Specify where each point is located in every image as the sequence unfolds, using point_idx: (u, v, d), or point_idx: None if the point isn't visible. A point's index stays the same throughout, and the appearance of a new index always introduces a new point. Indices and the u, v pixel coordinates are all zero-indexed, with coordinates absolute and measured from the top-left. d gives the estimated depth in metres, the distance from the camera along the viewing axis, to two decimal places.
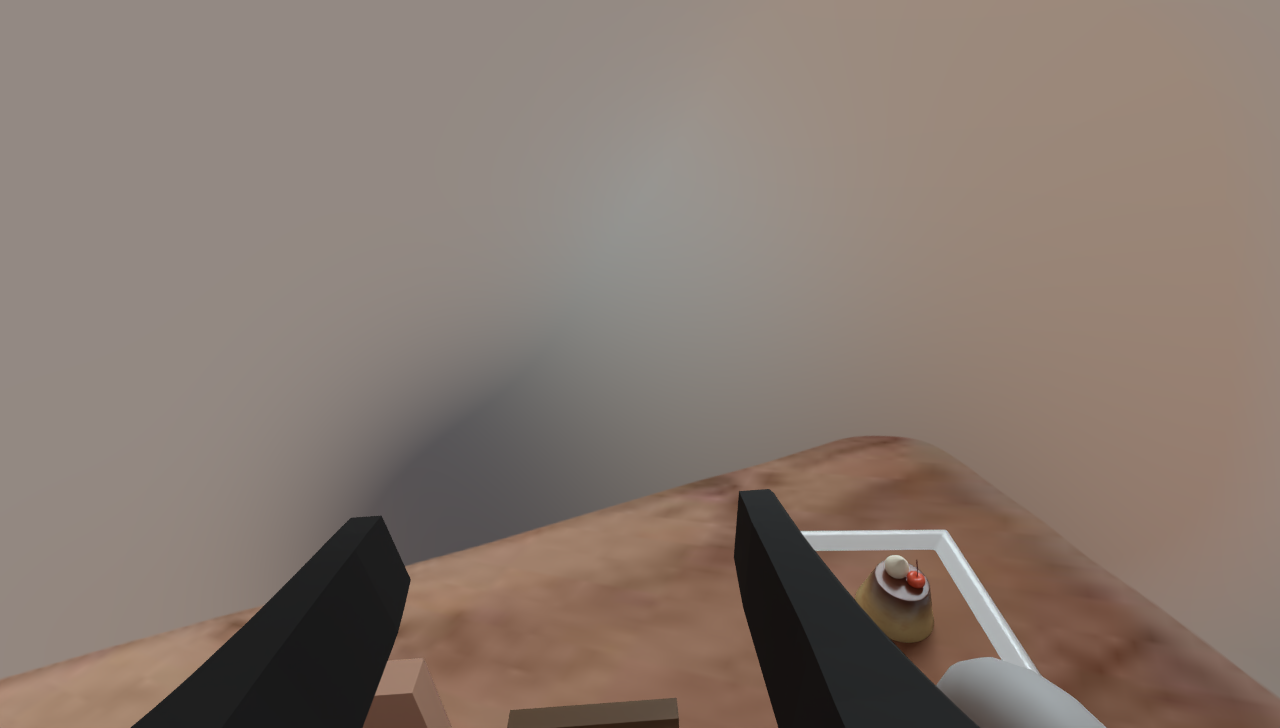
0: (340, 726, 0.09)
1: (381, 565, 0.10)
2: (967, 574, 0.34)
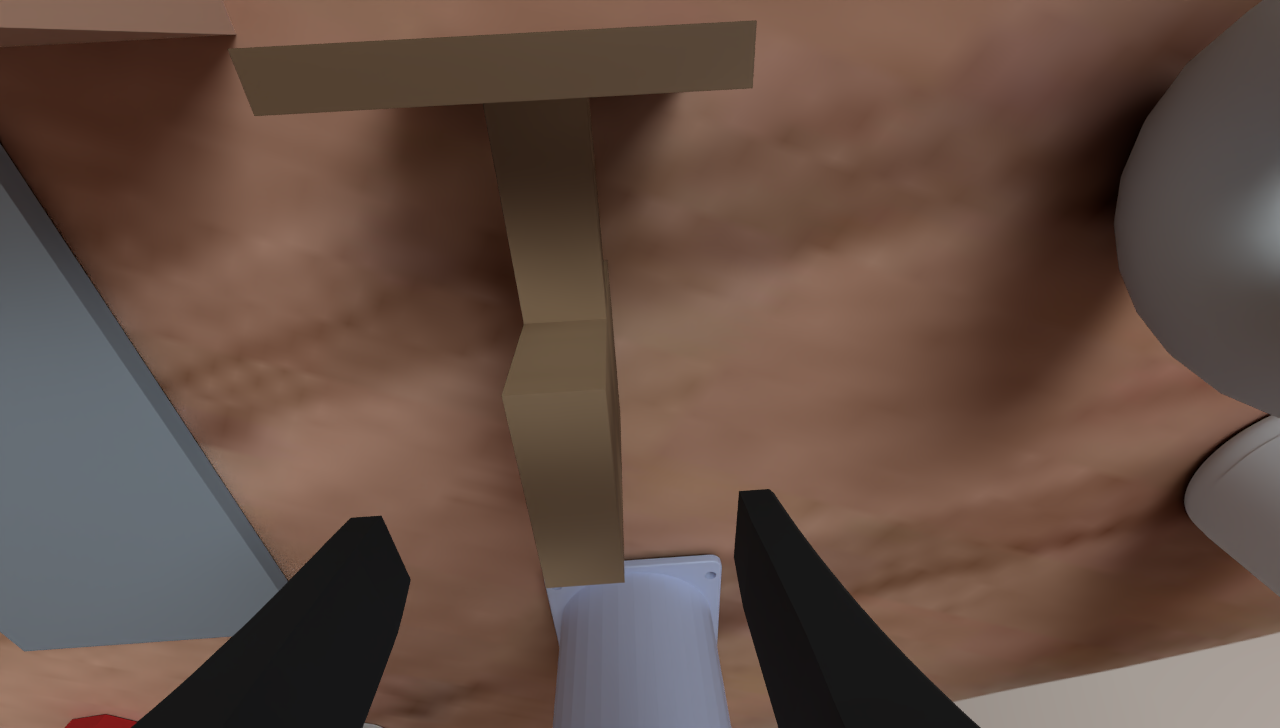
0: (340, 726, 0.09)
1: (381, 565, 0.10)
2: None
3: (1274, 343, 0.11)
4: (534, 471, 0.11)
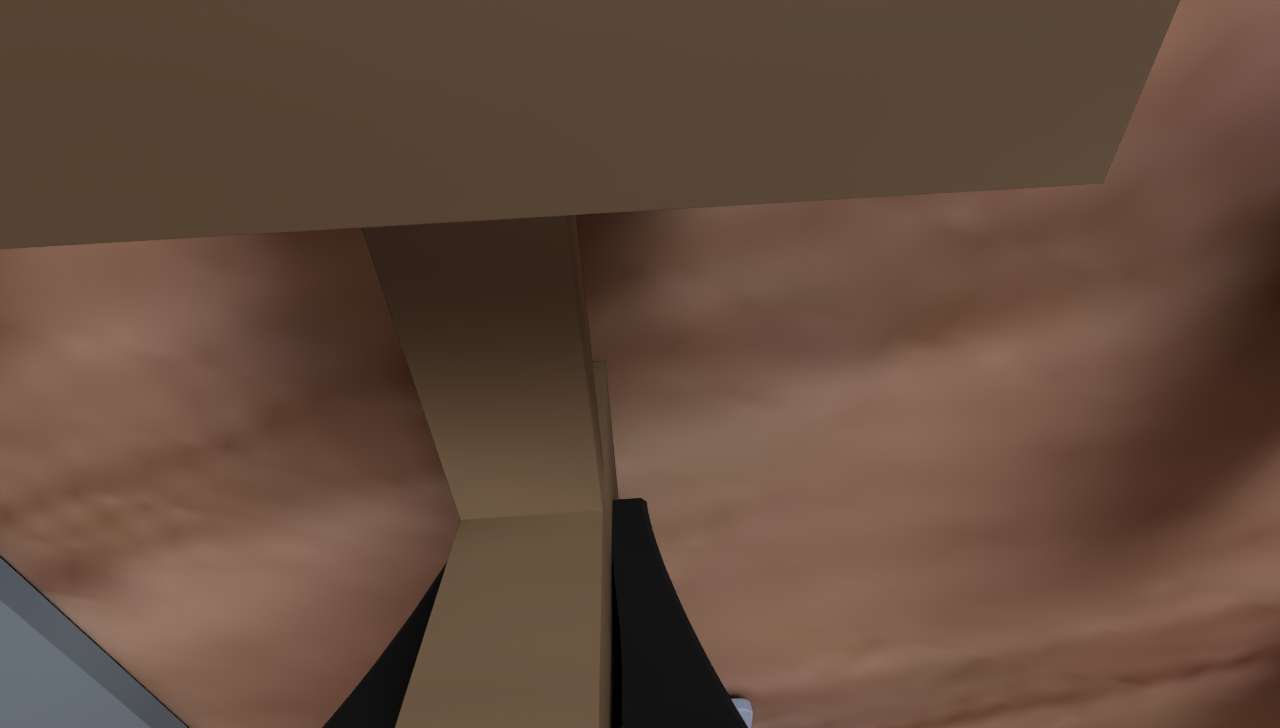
0: None
1: None
2: None
3: None
4: None
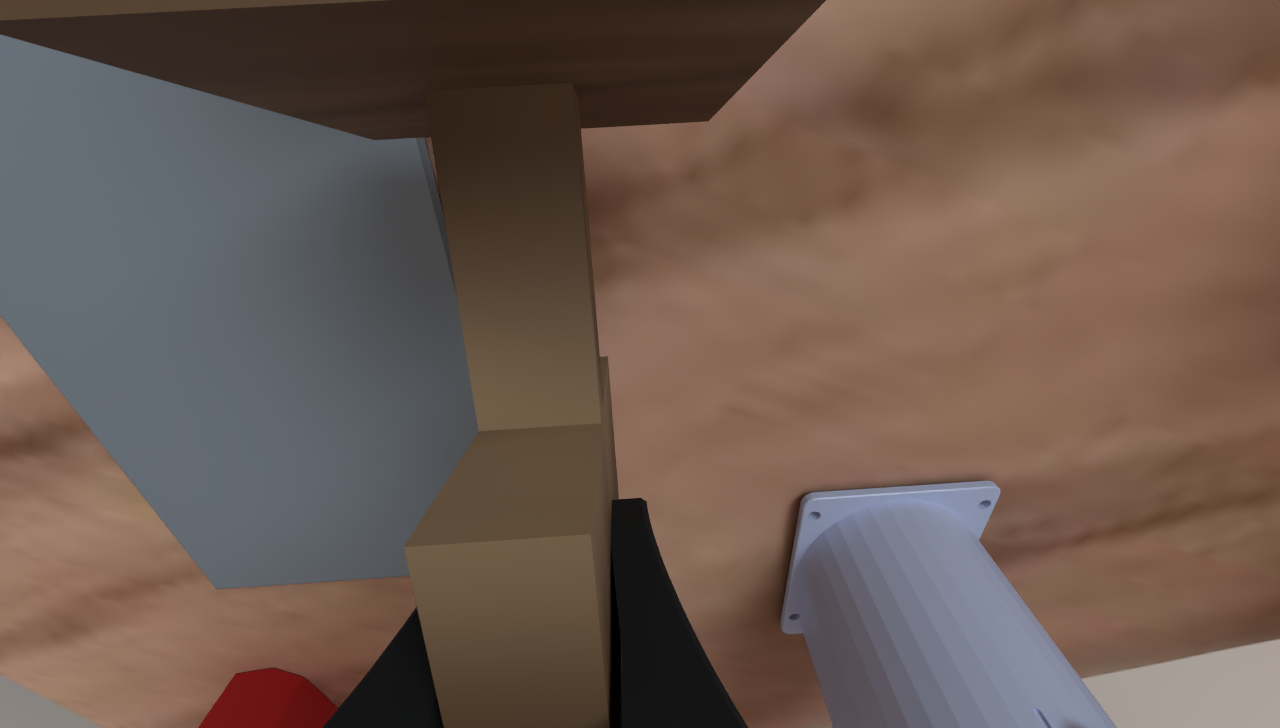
0: None
1: None
2: None
3: None
4: (462, 688, 0.06)
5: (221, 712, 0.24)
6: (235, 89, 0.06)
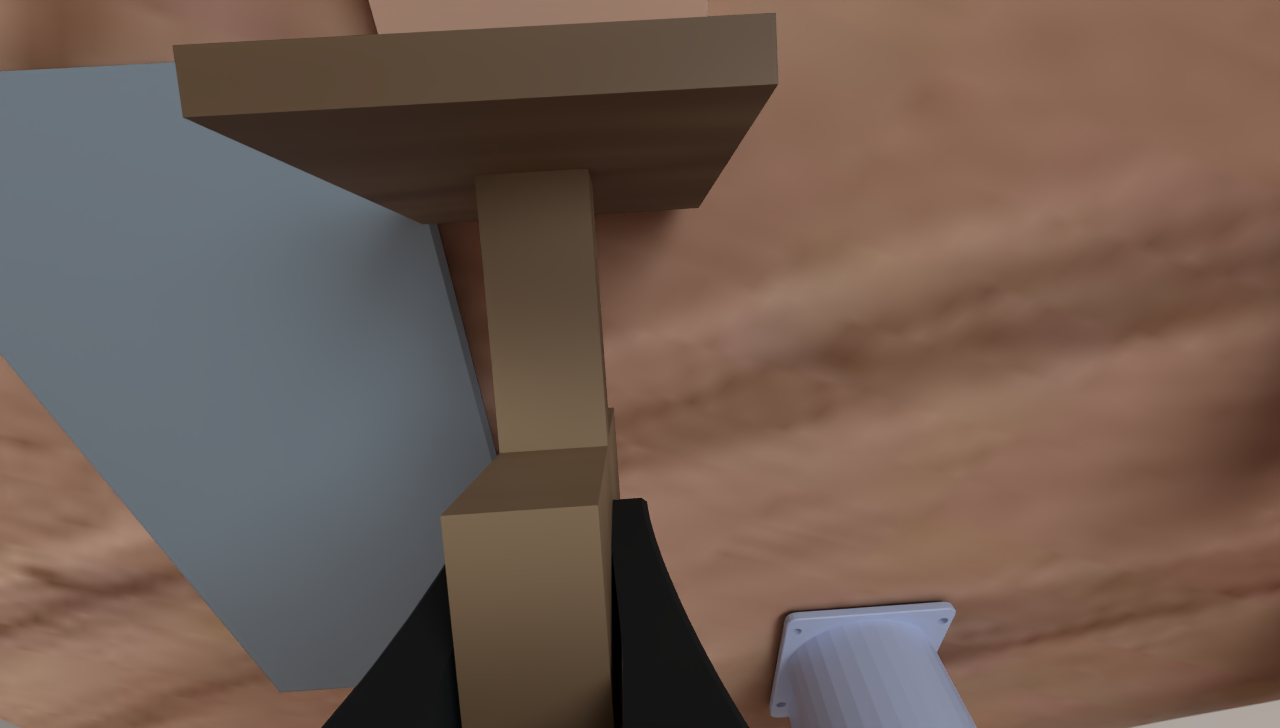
0: None
1: None
2: None
3: None
4: (479, 661, 0.07)
5: None
6: (335, 172, 0.08)
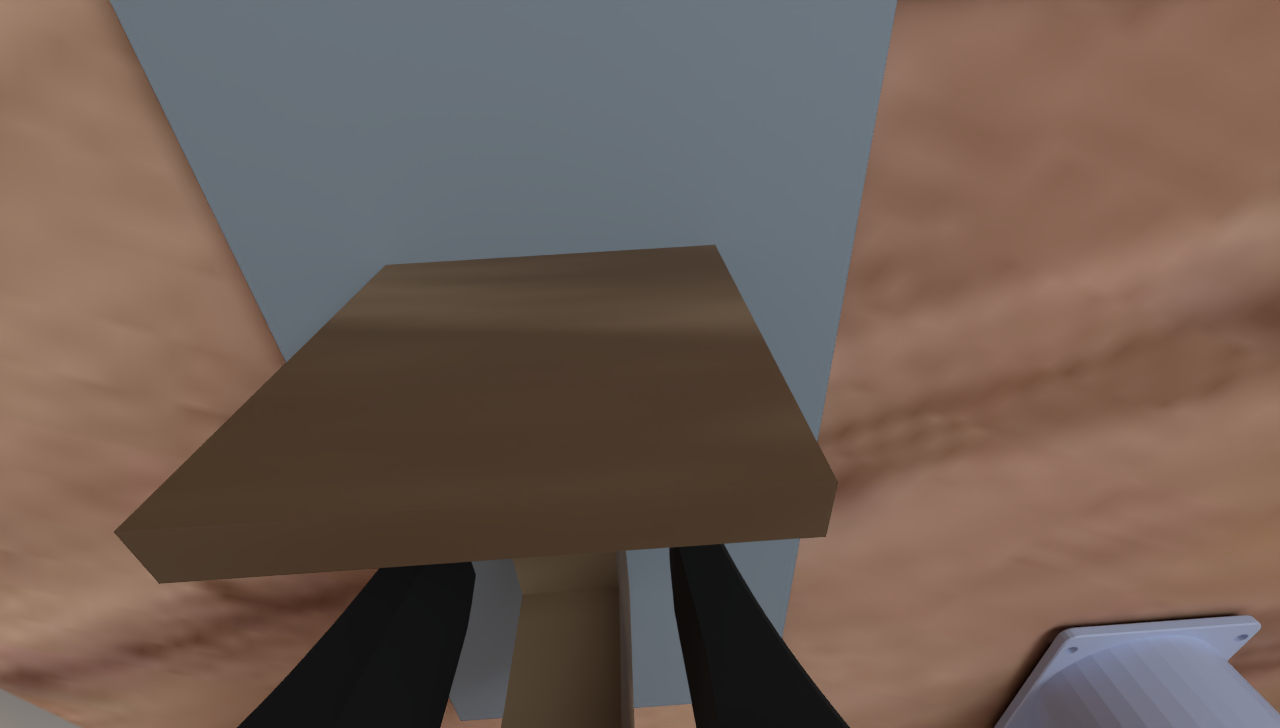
0: (425, 720, 0.09)
1: None
2: None
3: None
4: None
5: None
6: None
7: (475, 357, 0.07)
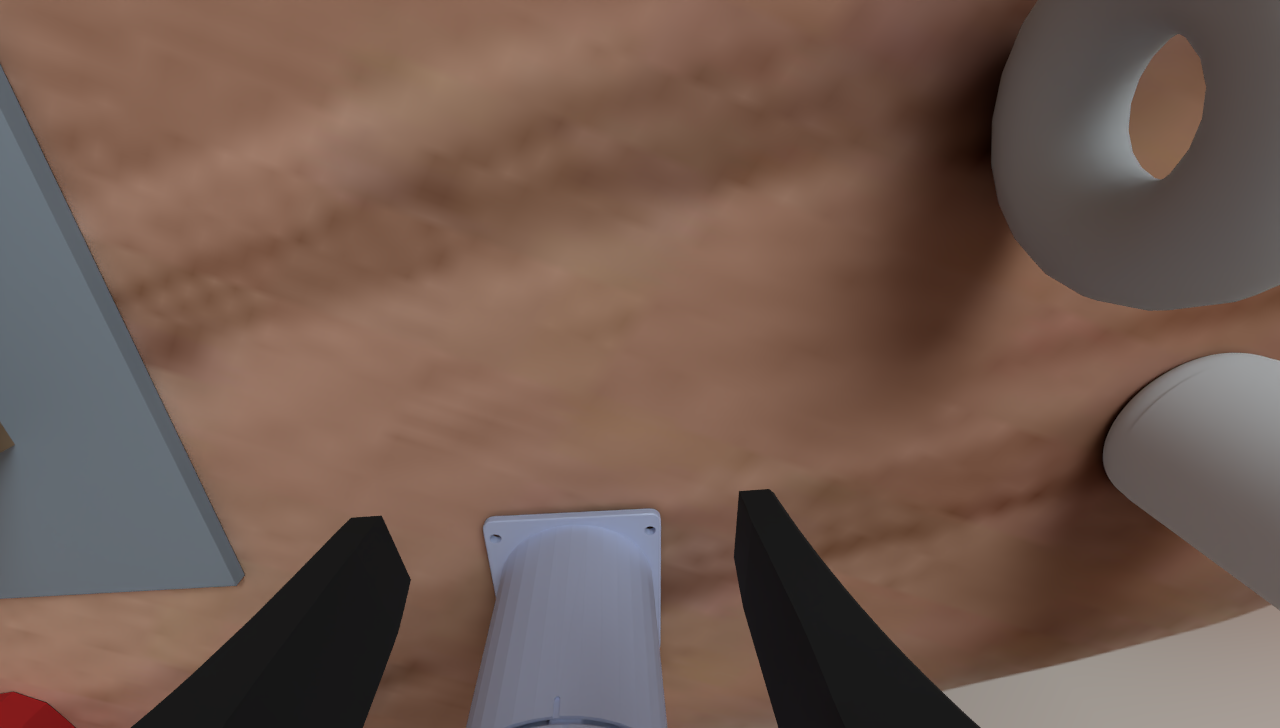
0: (340, 726, 0.09)
1: (381, 565, 0.10)
2: None
3: (1107, 230, 0.13)
4: None
5: None
6: None
7: None
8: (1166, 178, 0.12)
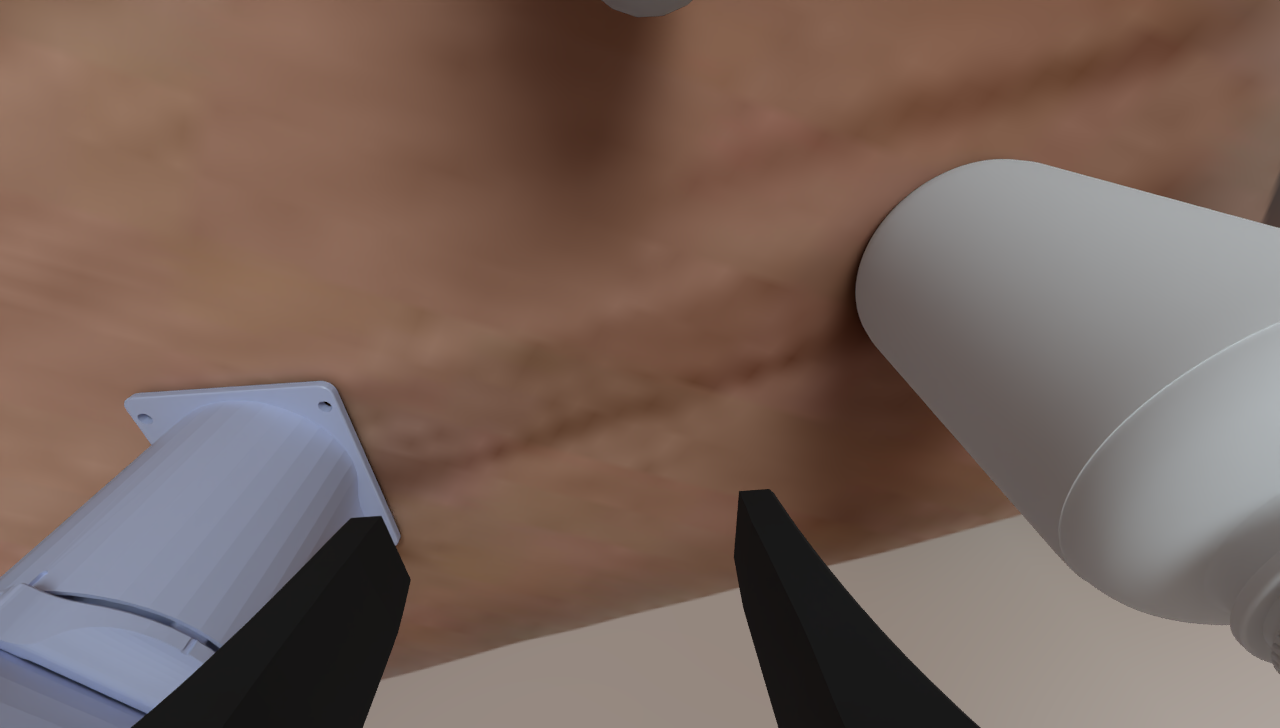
0: (340, 726, 0.09)
1: (381, 565, 0.10)
2: None
3: None
4: None
5: None
6: None
7: None
8: None
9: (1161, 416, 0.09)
